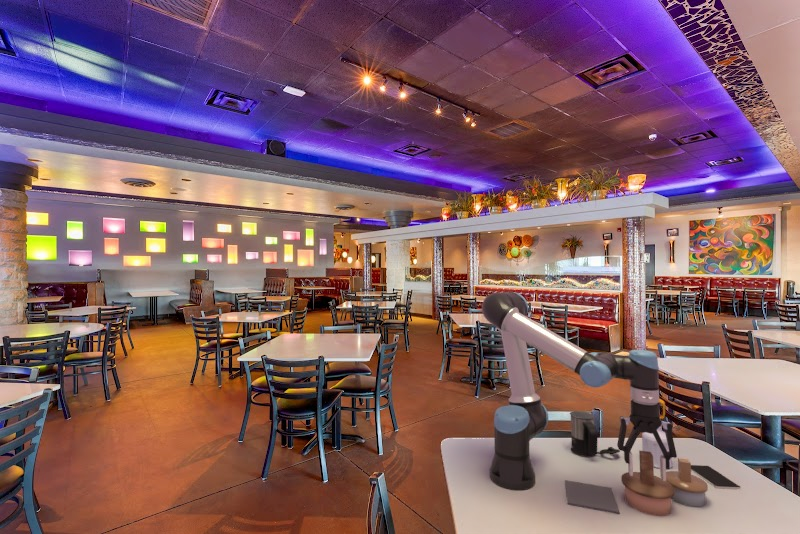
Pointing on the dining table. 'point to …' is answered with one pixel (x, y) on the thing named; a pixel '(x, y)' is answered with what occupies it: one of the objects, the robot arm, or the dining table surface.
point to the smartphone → (714, 477)
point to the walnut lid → (647, 480)
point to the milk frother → (585, 435)
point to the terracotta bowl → (648, 503)
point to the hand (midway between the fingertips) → (646, 476)
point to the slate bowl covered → (687, 485)
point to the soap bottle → (655, 442)
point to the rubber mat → (591, 496)
